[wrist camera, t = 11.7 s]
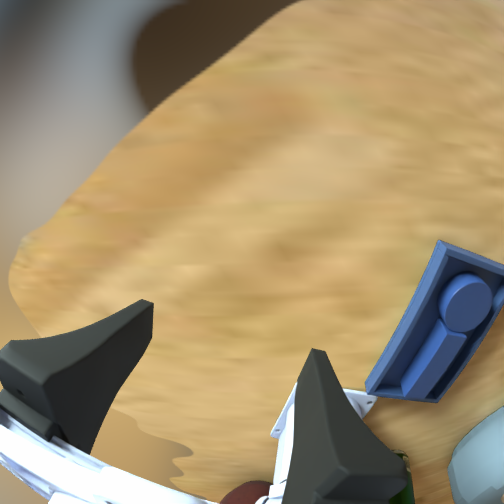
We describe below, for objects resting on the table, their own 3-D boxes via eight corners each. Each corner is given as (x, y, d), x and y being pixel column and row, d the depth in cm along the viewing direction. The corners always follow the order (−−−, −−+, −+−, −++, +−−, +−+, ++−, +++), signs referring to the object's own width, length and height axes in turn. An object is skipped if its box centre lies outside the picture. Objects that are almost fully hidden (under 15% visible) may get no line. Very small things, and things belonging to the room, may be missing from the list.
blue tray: (433, 391, 24) (437, 403, 23) (364, 382, 25) (366, 394, 23) (508, 266, 19) (518, 275, 17) (438, 239, 19) (446, 248, 18)
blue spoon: (427, 383, 24) (433, 400, 22) (388, 378, 24) (393, 396, 22) (491, 278, 19) (503, 291, 17) (451, 264, 19) (464, 278, 17)
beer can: (393, 444, 28) (403, 531, 17) (415, 454, 29) (426, 533, 18) (358, 462, 30) (359, 545, 19) (381, 471, 31) (386, 546, 20)
